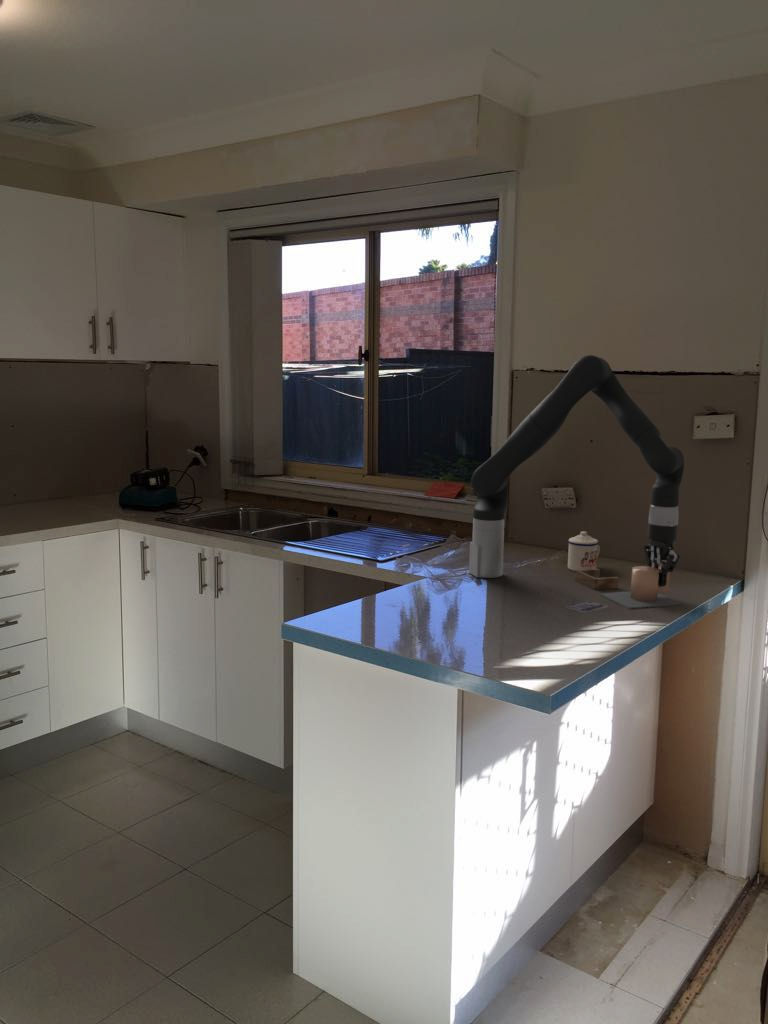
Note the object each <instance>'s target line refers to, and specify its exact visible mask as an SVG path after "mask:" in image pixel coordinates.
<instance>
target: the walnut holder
mask: <svg viewBox="0 0 768 1024" xmlns="http://www.w3.org/2000/svg"><path fill="white" fill-rule="evenodd" d="M574 572H575V573H574V581H576V582H578V583H580V584H582V585H584V586H585V587H588V588H590V589H592V590H606V589H607V590H609V589H618V588H619V576H609V577H606V576H605V577H600V575H601V573H600V572H601V569H600V568H596V569H585V570H575V571H574Z"/></svg>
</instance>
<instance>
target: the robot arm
mask: <svg viewBox="0 0 768 1024" xmlns="http://www.w3.org/2000/svg"><path fill="white" fill-rule="evenodd" d="M590 392H592V393H593V394H594V395H595V396H597V397H598V399H600V400H601V401H602V402H603V403H604V404H605V405H606V406H607V408H608V409H609V410H610V411H611V413H612V415H613V416H614V418H615V420H616V421H617V423H618V425H619V426H620V428H621V429H622V431H624V433H625V434H626V435H627V436H628V438H629V439H630V440H631V442H633V444H634V445H635V446H636V447H637V448H638V450H639V451H640V454H641V455H642V458H643V459H644V461H645V462H646V464H647V465H648V466H649V468H650V469H651V470H652V471H653V472H655V473H656V480H655V483H653V485H652V487H651V491H650V492H651V493H650V494H651V495H650V506H649V511H648V524H647V538H648V539H649V540H650V541H649V544H647V545H643V550H644V555H645V559H646V564H647V567H654V568H657V569H659V582H658V586H666V582H667V573H668V572H670V573H672V572H673V571H674V570H675V568H676V566H677V563H678V562H679V559H680V554H679V553H677V554H676V552H675V551H674V550H675V547H674V542H675V541H677V539H678V528H679V515H680V514H679V499H680V497H679V496H680V486H681V482H682V480H683V479H682V478H683V474H684V469H685V458H684V457H685V456H684V454H683V452H682V451H681V450H680V449H679V448H678V447H676V446H668V445H666V443H665V442H664V440H663V439H662V438H661V432H660V430H659V429H658V426H656V425H655V424H654V422H653V421H652V420H651V419H650V418H649V417H648V415H647V414H645V413H644V411H643V410H642V409H641V407H639V406H638V404H637V403H636V402H635V401H634V400H633V399H632V398H631V397H630V395H629V394H628V393H627V391H626V390H625V388H624V387H623V386H622V384H621V383H620V382H619V380H618V378H617V376H616V375H615V373H614V372H613V369H612V367H611V366H610V364H609V363H608V362H607V361H606V359H604V358H602V357H599V356H596V355H593V354H590V355H589V354H588V355H584V356H581V357H580V358H578V359H577V360H576V361H575V363H574V364H573V365H572V366H571V367H570V368H569V370H568V372H567V373H566V374H565V375H564V377H563V378H562V379H561V380H560V382H558V385H556V387H555V388H554V389H553V390H552V391H551V392H550V393H549V394H548V395H547V396H546V397H545V398H544V399H543V400H542V401H541V402H540V403H539V404H538V405H537V406H536V407H535V408H534V409H533V410H532V411H531V412H530V413H528V415H527V416H526V417H525V418H524V419H523V420H522V421H521V422H520V424H519V425H518V426H517V427H516V428H515V429H514V430H513V432H512V433H511V434H510V435H509V437H508V438H506V440H505V442H504V443H503V444H502V445H501V447H500V448H499V449H498V450H497V451H496V452H495V453H493V454H492V455H491V456H490V457H489V458H488V459H487V460H486V461H484V462H483V463H482V464H481V465H479V466H478V467H477V468H476V469H475V470H474V472H473V473H472V476H471V478H470V484H471V485H470V486H471V488H472V491H473V492H474V493H475V494H477V497H476V498H477V499H476V502H475V505H474V508H473V511H472V512H473V515H472V516H473V520H472V541H470V542H469V559H468V561H469V563H468V564H469V565H468V573H469V574H471V575H472V576H473V577H475V578H484V579H485V578H486V579H487V578H489V579H491V578H493V579H495V578H499V577H503V571H504V544H505V541H504V540H505V539H504V538H505V519H506V518H505V513H506V510H507V506H508V496H509V477H510V475H512V473H513V472H514V471H515V470H516V469H517V468H518V467H519V466H520V465H521V464H523V463H524V462H526V461H527V460H528V459H530V458H531V457H533V456H534V455H535V454H536V453H538V451H540V450H541V449H543V447H544V446H546V445H547V444H548V443H549V442H550V440H552V438H553V437H554V436H555V435H556V434H557V433H558V432H559V430H560V429H561V427H562V426H563V424H564V423H565V422H566V419H567V417H568V415H569V414H570V412H571V410H572V409H573V408H574V407H575V406H576V405H577V403H578V402H579V401H581V399H583V398H584V397H585V396H586V395H587V394H588V393H590Z"/></svg>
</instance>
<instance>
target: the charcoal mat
mask: <svg viewBox="0 0 768 1024" xmlns="http://www.w3.org/2000/svg"><path fill="white" fill-rule="evenodd" d="M630 593H631V590H630V591H617V592H607V593H606V592H605V593H604V592H603V593H600V594H599V596H600V597H603V598H605V599H607V600H609V601H611V602H613V603H615V604H616V605H619V606H621V607H623V608H625V607H626V608H625V609H627V608H628V609H627V610H632V608H636V609H647V608H646V607H648V608H659V607H669V606H672V607H673V606H681V605H682V603H681V602H679V601H677V600H675V599H674V598H673V599H672V598H671V597H669V596H666V595H663V594H661V593H658V596H657V600H656V601H651V602H645V601H638V600H634V599H632V598H630ZM643 607H644V608H643Z"/></svg>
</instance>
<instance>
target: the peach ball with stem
mask: <svg viewBox="0 0 768 1024" xmlns="http://www.w3.org/2000/svg"><path fill="white" fill-rule="evenodd" d="M670 573H671V572H668V573H667V582H666V586H658V582H659V569H657V568H654V567H651V566H648V565H647V566H646V565H642V566H641V565H639V566H638V565H637V566H633V567H631V579H630V580H631V583H630V591H631V593H630V598H632V599H634V600H638V601H645V602H651V601H656V600H657V596H658V593H659V594H661V593H669V590H670V588H669V587H670V577H671V576H670Z"/></svg>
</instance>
